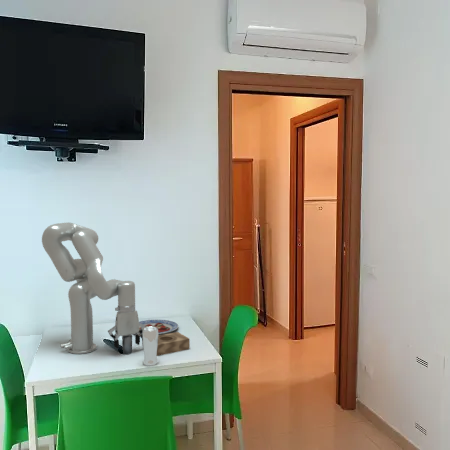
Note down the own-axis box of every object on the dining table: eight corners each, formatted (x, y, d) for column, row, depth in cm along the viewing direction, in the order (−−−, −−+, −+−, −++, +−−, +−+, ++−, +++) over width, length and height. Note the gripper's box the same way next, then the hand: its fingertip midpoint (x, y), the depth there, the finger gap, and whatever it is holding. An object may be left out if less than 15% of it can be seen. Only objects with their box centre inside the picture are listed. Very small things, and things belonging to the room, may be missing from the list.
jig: (153, 356, 199) (153, 344, 199) (143, 348, 210) (142, 336, 209) (189, 349, 209) (189, 337, 209) (177, 341, 219) (177, 330, 219)
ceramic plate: (172, 321, 255) (172, 316, 254) (183, 335, 230) (183, 329, 230) (126, 325, 246) (126, 320, 246) (132, 340, 222) (132, 334, 222)
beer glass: (159, 360, 196) (159, 326, 194) (157, 366, 189) (157, 331, 188) (143, 360, 195) (143, 326, 194) (141, 366, 188) (140, 331, 187)
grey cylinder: (124, 355, 201) (124, 337, 201) (120, 352, 205) (120, 334, 204) (133, 353, 204) (133, 335, 203) (130, 350, 207) (129, 333, 207)
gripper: (110, 313, 195) (111, 352, 196) (148, 307, 204) (148, 344, 206) (105, 309, 201) (105, 347, 203) (141, 304, 211) (142, 340, 212)
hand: (127, 346), depth 204 cm, fingers open, 9 cm apart
